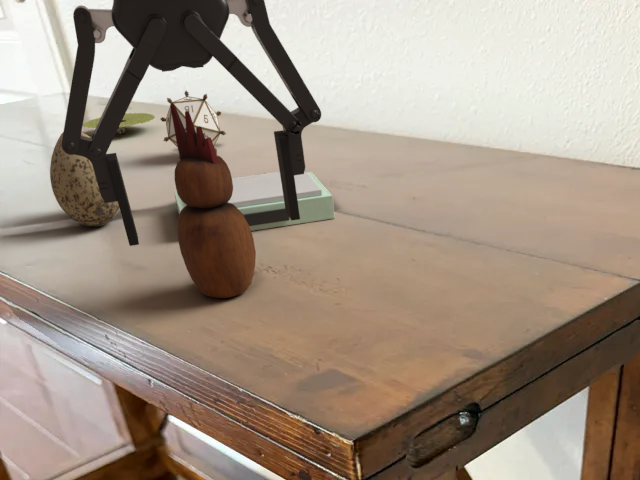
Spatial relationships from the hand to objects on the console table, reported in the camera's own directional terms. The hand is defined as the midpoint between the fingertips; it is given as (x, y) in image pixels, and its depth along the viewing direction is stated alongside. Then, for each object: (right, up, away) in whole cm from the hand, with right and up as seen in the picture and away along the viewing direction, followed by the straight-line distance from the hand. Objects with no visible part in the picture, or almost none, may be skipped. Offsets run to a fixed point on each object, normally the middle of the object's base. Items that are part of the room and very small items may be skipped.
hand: (214, 228), depth 69 cm
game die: (-13, +27, +45) cm, 55 cm away
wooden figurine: (0, -4, +4) cm, 6 cm away
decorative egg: (-18, +9, +22) cm, 30 cm away
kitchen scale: (-1, +10, +21) cm, 24 cm away
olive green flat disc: (-29, +39, +62) cm, 79 cm away
